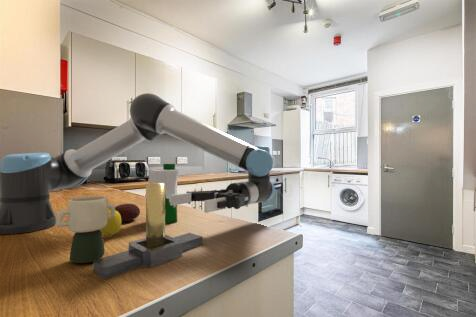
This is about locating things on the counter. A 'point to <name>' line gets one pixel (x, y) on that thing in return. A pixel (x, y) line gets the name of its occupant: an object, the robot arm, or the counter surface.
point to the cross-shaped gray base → (145, 255)
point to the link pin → (155, 215)
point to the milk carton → (167, 188)
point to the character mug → (86, 226)
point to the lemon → (112, 224)
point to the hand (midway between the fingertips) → (186, 203)
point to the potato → (128, 212)
